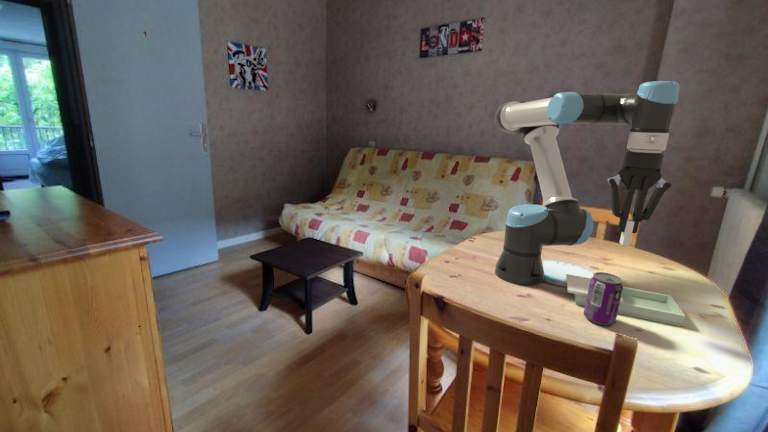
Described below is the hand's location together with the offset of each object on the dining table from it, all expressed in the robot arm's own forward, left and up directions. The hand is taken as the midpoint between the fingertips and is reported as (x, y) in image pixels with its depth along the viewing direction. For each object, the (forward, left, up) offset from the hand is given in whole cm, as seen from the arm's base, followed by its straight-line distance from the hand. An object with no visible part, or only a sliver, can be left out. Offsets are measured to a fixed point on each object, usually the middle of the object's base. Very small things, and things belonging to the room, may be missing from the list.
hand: (624, 244), depth 88 cm
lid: (-4, +6, -16) cm, 18 cm away
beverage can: (-3, -6, -20) cm, 21 cm away
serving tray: (+4, +6, -19) cm, 21 cm away
